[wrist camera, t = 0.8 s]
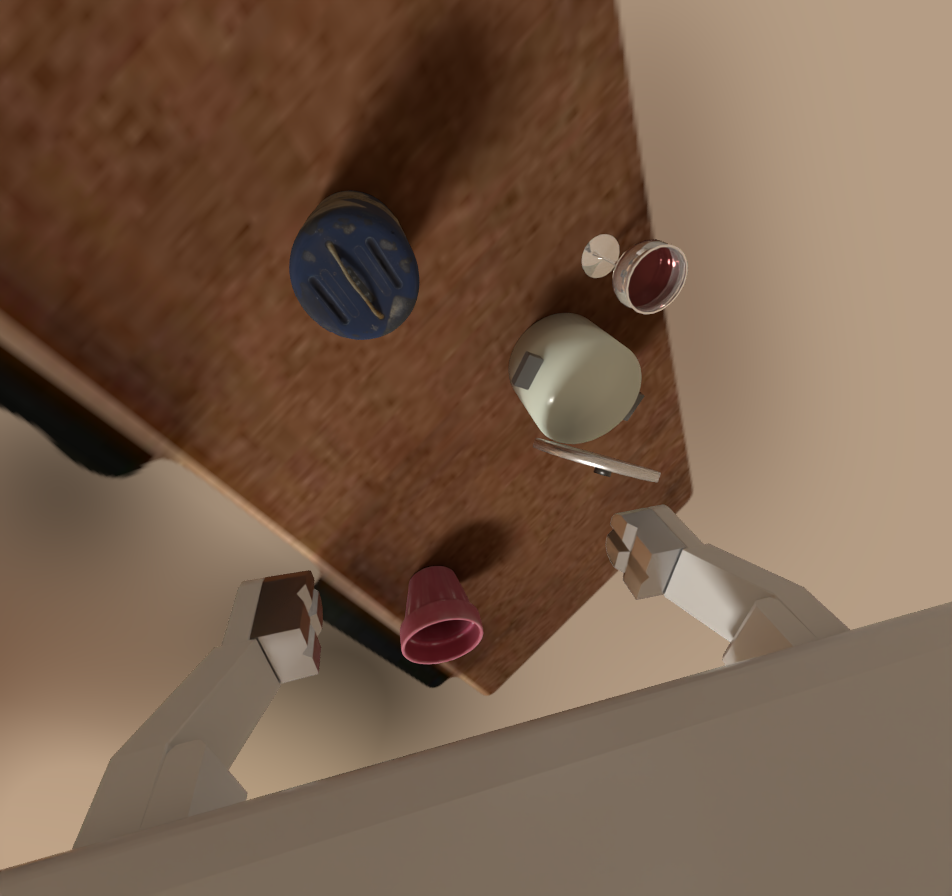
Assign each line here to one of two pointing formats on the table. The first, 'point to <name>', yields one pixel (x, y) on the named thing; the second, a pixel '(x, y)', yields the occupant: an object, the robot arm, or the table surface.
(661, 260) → the wineglass
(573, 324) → the pot
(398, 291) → the canister
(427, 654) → the plant pot
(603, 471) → the lid
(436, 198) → the table surface
